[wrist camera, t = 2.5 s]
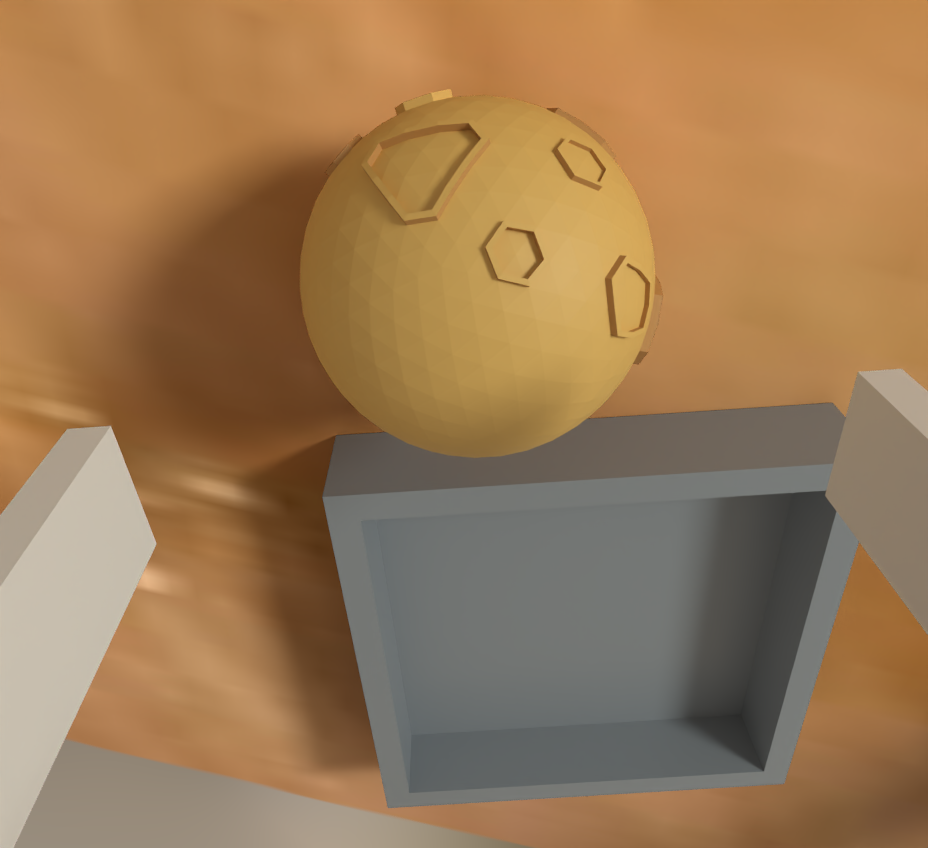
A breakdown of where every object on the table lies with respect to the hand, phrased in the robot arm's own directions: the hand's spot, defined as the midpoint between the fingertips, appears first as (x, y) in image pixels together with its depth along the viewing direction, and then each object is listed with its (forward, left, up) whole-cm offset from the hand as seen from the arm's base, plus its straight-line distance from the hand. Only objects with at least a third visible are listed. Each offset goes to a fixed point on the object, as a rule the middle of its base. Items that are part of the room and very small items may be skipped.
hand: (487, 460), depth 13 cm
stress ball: (0, 0, -14) cm, 14 cm away
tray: (-4, +18, -14) cm, 23 cm away
